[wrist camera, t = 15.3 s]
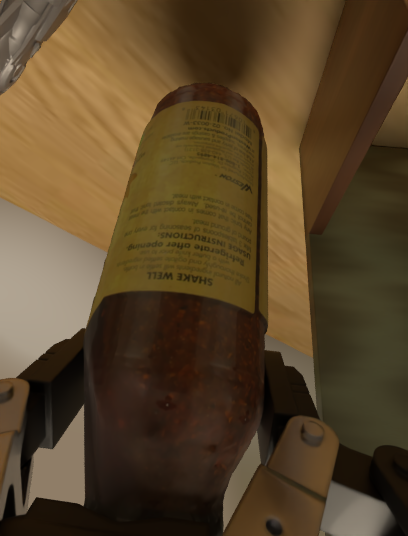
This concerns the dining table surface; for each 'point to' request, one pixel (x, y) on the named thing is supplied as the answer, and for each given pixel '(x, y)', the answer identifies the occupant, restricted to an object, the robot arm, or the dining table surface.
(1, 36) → the spaceship
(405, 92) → the dining table surface
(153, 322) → the sauce bottle
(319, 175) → the bottle rack
